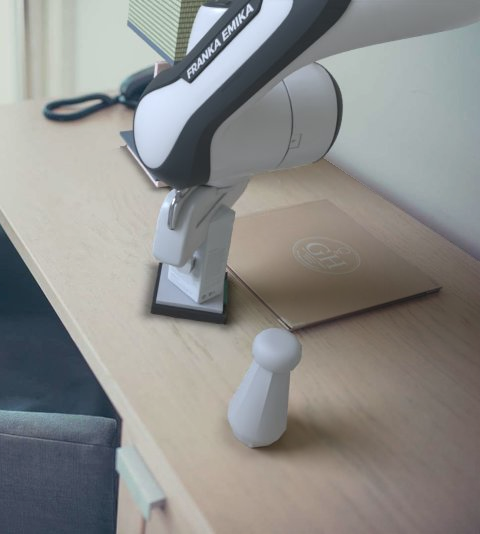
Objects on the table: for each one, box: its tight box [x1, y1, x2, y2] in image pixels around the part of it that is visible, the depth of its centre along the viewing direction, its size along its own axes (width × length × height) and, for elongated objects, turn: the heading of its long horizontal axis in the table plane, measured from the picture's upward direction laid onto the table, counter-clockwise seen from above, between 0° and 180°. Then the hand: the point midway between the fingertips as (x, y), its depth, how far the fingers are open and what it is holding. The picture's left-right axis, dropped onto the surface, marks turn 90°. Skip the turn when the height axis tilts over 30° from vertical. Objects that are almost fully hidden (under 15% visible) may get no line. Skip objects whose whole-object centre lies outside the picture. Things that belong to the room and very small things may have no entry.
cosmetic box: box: [168, 205, 236, 303], centre depth 77 cm, size 6×4×12 cm
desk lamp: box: [119, 0, 209, 189], centre depth 99 cm, size 18×14×33 cm
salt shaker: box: [227, 327, 303, 449], centre depth 61 cm, size 6×6×13 cm
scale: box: [150, 261, 229, 325], centre depth 81 cm, size 9×9×2 cm
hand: (196, 255), depth 78 cm, fingers closed on cosmetic box, 5 cm apart
